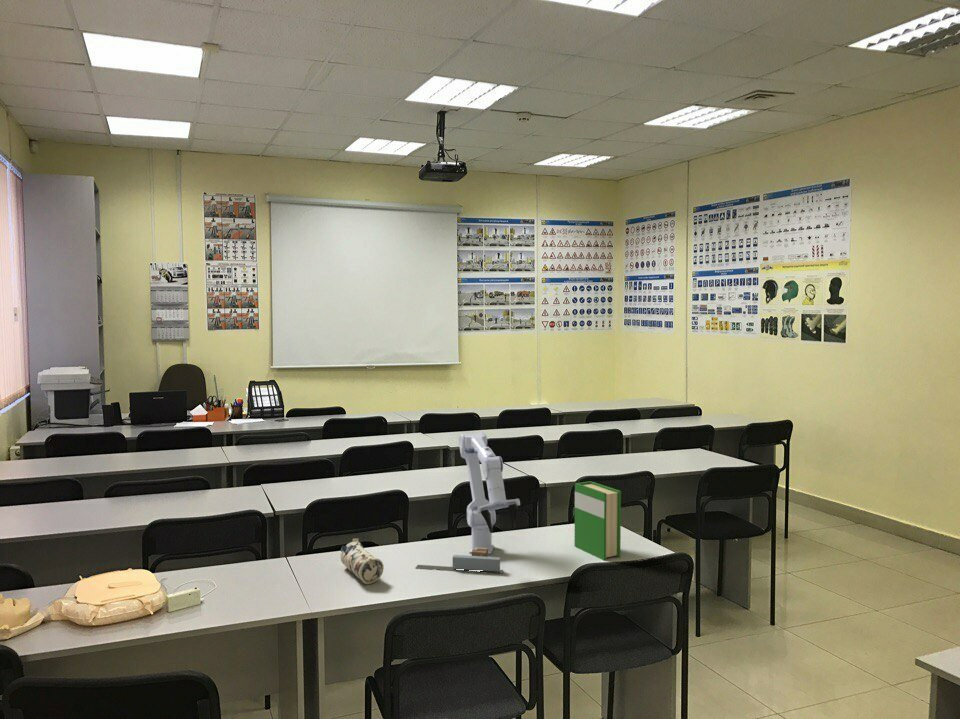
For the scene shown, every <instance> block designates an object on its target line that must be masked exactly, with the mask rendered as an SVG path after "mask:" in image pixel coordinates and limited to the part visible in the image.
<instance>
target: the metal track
mask: <svg viewBox="0 0 960 719" xmlns="http://www.w3.org/2000/svg"><path fill="white" fill-rule="evenodd" d="M415 568H420V569H419V570H432V569H436V570H435V571H448V570H456V569H453V566H444V565H443V566H442V565H428V564H417V565H416V567H415ZM464 571H469V570H467V569H464ZM464 571H463V572H464ZM455 572H458V571H457V570H456V571H455ZM481 572H487V573H486V574H498V575H501V574H503V572H504V569H500V571H480V572H479V573H481ZM475 573H478V572H477V571H476V572H475Z"/></svg>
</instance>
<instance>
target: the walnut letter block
mask: <svg viewBox="0 0 960 719" xmlns="http://www.w3.org/2000/svg"><path fill="white" fill-rule="evenodd" d="M471 556H484V557H489V554H488V548H478V547H474V549H473V550H472V553H471Z"/></svg>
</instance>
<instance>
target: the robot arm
mask: <svg viewBox="0 0 960 719" xmlns="http://www.w3.org/2000/svg"><path fill="white" fill-rule="evenodd" d="M458 446H459V452H460V457H461V458H462V459H464V460H465V463H466V466H467V467H466V468H467V473H468V480H469V486H470V492H471V499H472V501H470V503H469V504H468V505H467V506H466V520H467V525H468V526H469V527H470V528H471V548H470V549H469V551H468V553H470V554H472V550H473V549H474V547H478V548H488V555H491V553H492V552H493V550H494V548H495V545H494V544H492V543H493V541H492V540H493V536H492V534H494V531H493V530H494V529H493V527H494V525H495V523H496V522H497V521H496V520H497V514H496V510H499V509H506V508H508V511H509V514H510V521H511V528H512V529H516V519H517V513H518V510H519V507H518V506H521V500H520V498H515V499H507V497H506V491H505V484H504V478H503V471H504V470H503V469H504V462H503V458H502V457H501V456H500V455H499V456H497V455H496V454H495V453H494V451H493V450H492V448H491V447H489V446H488V437H487V434H486V433H485V432H479V433H478V432H477V433H476V432H475V433H461V434H459V437H458ZM480 463H481V464H480ZM480 465H481V466H480ZM482 474H483V477H484V480H486V487H487V494H488V495H487V496H488V499H487V498H486V496H485V495H486V494H485V490H484V484H483V478H482Z"/></svg>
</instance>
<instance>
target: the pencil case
mask: <svg viewBox="0 0 960 719" xmlns="http://www.w3.org/2000/svg"><path fill="white" fill-rule="evenodd" d="M364 548H365V547H364V545H363V544H362V543H361V542H360V541H359V538H352V541H351V542H349V543H347V544H346V545H342V547H341V549H340V552H341V553H340V561H341V562H342V564H343V565H344V566H345V567H346V568H347V569H348V570H349V571H350V572H351V573H352V574H353V575H354V576H356V577H357V578H358V579H360V581H361V582H362V583H363V584H366V585H370V584H374V583H375V582H377V581H378V580H379V579H380V578H381V577H382V575H383V574H384V573H383V572H384V563H383V561H382V560H381V559H380V558H377V557H375V556H374V555H372V554H370V553H369V551H366V549H364Z"/></svg>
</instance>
